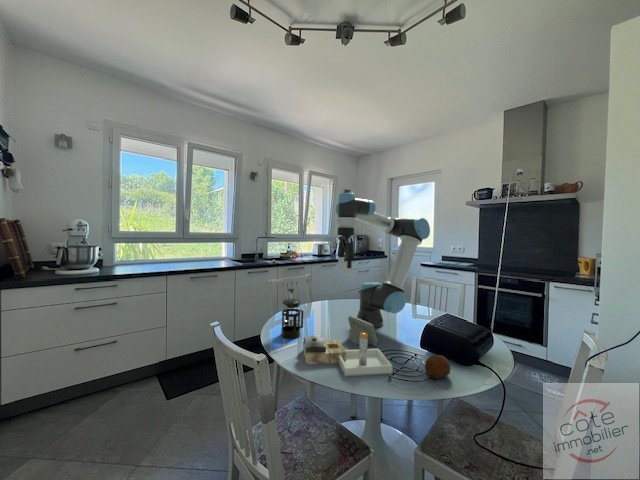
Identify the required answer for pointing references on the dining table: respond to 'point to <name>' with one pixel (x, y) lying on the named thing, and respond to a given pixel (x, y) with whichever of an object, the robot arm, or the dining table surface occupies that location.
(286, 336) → the french press
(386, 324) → the dining table surface
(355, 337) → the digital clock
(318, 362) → the wooden holder
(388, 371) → the tray
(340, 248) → the robot arm
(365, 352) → the pin
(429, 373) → the potato
